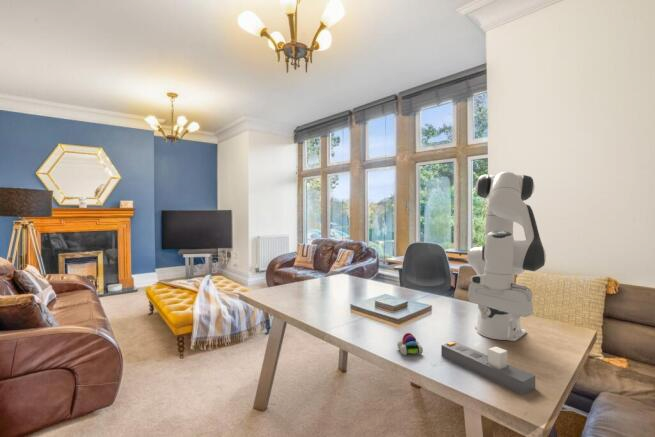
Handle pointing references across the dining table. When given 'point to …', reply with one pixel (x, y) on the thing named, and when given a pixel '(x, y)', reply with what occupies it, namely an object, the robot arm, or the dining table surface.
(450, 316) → the dining table surface
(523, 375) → the power strip
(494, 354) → the charger plug
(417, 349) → the multicoloured domed toy
